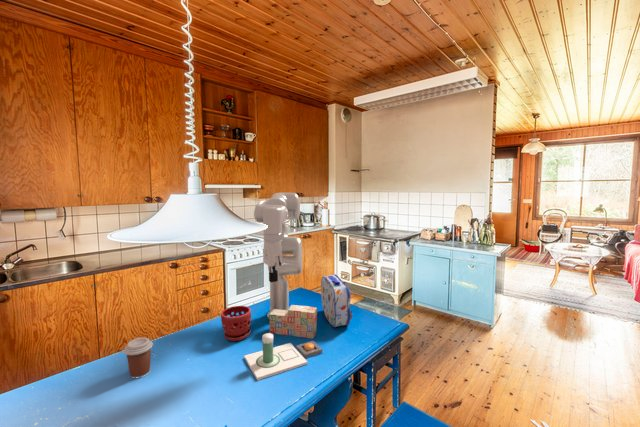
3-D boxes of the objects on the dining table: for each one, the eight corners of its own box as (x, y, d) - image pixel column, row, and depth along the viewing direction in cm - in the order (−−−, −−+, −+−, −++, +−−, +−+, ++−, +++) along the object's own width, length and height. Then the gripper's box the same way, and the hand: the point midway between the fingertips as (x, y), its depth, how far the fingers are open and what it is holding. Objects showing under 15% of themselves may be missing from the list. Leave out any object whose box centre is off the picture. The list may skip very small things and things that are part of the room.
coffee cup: (123, 383, 108) (121, 351, 106) (127, 369, 116) (125, 338, 115) (153, 376, 112) (151, 345, 110) (154, 363, 120) (153, 333, 119)
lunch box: (354, 330, 147) (355, 285, 145) (334, 333, 144) (334, 287, 142) (336, 307, 173) (337, 269, 171) (318, 309, 171) (318, 270, 168)
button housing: (296, 348, 131) (296, 345, 131) (313, 343, 135) (313, 340, 135) (305, 358, 124) (305, 354, 124) (322, 352, 128) (322, 349, 128)
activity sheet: (244, 357, 124) (244, 355, 124) (290, 345, 134) (290, 342, 134) (257, 380, 110) (257, 377, 110) (307, 364, 120) (307, 361, 120)
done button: (302, 348, 130) (302, 344, 130) (311, 346, 132) (311, 341, 132) (307, 353, 127) (307, 348, 126) (315, 350, 129) (315, 346, 128)
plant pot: (245, 326, 150) (245, 302, 149) (255, 338, 139) (255, 312, 138) (218, 333, 143) (217, 308, 142) (226, 346, 132) (225, 319, 131)
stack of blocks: (269, 333, 144) (268, 307, 143) (274, 327, 150) (273, 302, 149) (313, 338, 139) (313, 312, 138) (317, 332, 145) (317, 307, 144)
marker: (261, 359, 121) (260, 334, 120) (271, 356, 123) (271, 332, 122) (264, 364, 118) (264, 339, 116) (275, 361, 119) (274, 337, 118)
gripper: (258, 235, 131) (258, 277, 133) (270, 241, 118) (271, 288, 120) (274, 233, 134) (275, 275, 136) (288, 239, 121) (289, 285, 123)
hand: (273, 281), depth 128 cm, fingers closed
